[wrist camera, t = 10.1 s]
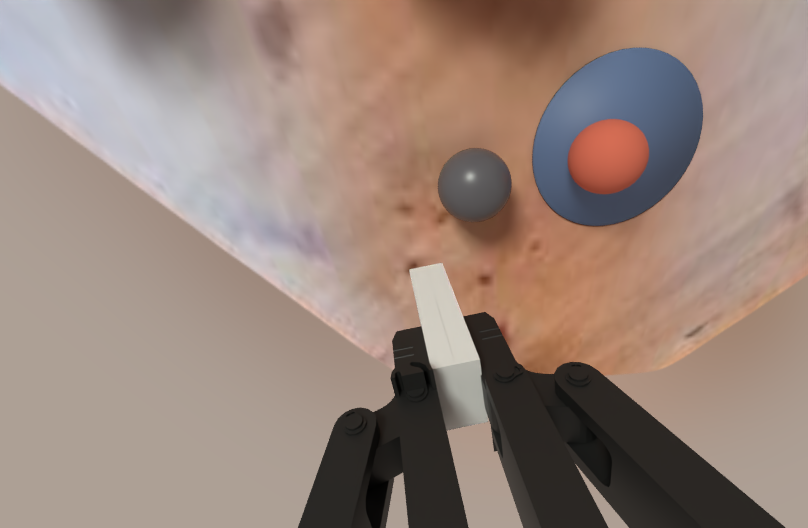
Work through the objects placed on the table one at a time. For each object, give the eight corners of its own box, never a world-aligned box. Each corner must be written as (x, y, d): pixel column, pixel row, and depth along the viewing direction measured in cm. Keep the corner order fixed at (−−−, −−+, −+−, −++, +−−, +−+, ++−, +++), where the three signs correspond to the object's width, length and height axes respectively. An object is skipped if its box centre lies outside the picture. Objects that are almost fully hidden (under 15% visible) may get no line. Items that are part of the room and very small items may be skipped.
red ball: (546, 145, 33) (606, 129, 34) (566, 208, 33) (626, 192, 33) (583, 115, 28) (653, 97, 28) (606, 191, 27) (677, 172, 28)
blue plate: (736, 86, 32) (738, 86, 31) (637, 242, 37) (639, 243, 37) (587, 17, 29) (589, 16, 28) (504, 198, 34) (504, 199, 34)
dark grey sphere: (411, 185, 30) (443, 163, 34) (453, 245, 31) (480, 216, 35) (466, 145, 26) (495, 125, 30) (512, 213, 27) (534, 185, 31)
